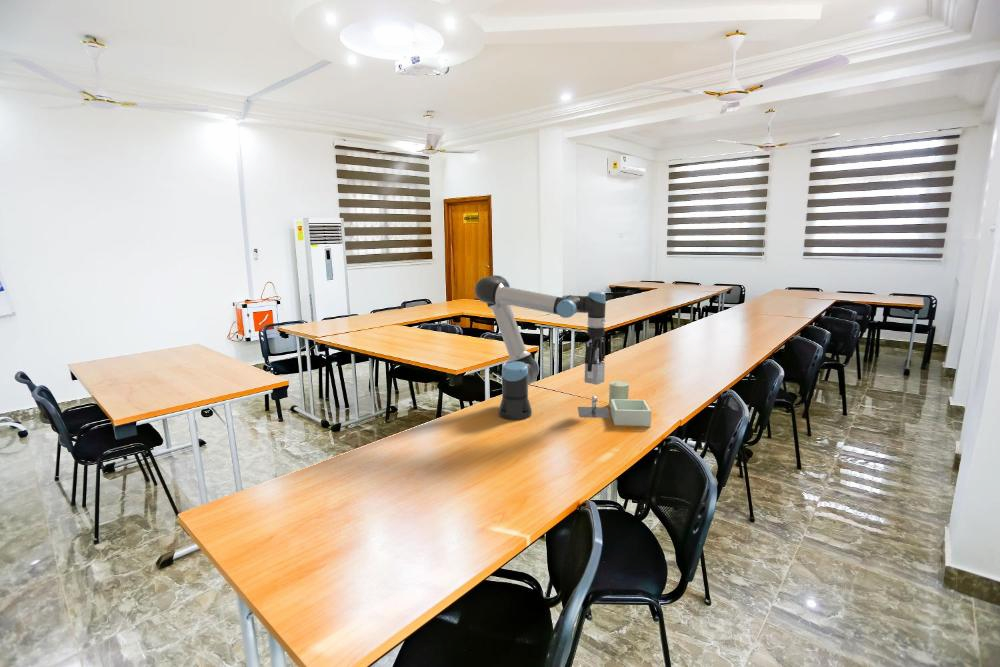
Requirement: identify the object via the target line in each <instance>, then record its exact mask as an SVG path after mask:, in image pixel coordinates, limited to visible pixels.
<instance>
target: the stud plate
mask: <svg viewBox="0 0 1000 667" xmlns="http://www.w3.org/2000/svg"><path fill="white" fill-rule="evenodd" d="M590 401H591V406H577V411H578V417H579V418H590V419H591V418H598V419H599V418H600V419H601V418H602V419H612V416H611V412H610V410H609V406H608V407H606V406H603V407H602V406H597V402H598V397H597V396H596V395H593V396H592V397H591V398H590Z"/></svg>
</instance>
